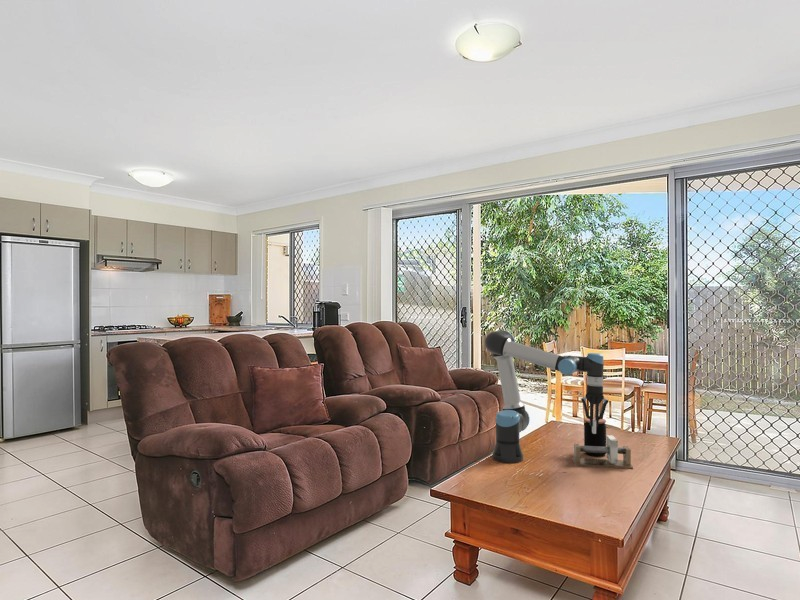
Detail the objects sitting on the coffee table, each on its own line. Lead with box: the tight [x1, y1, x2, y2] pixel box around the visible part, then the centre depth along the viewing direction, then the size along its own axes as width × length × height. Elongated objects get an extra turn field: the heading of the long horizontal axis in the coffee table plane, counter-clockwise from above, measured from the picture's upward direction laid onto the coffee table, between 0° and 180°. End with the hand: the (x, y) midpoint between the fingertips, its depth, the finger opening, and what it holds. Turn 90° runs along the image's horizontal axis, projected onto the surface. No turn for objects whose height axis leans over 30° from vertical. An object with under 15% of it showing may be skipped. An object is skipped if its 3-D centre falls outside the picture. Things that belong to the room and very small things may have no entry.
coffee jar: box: [583, 416, 607, 458], centre depth 265 cm, size 11×11×18 cm
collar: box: [606, 434, 619, 464], centre depth 247 cm, size 3×10×11 cm, turn 169°
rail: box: [572, 443, 634, 470], centre depth 248 cm, size 26×10×9 cm, turn 79°
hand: (593, 432), depth 249 cm, fingers closed
